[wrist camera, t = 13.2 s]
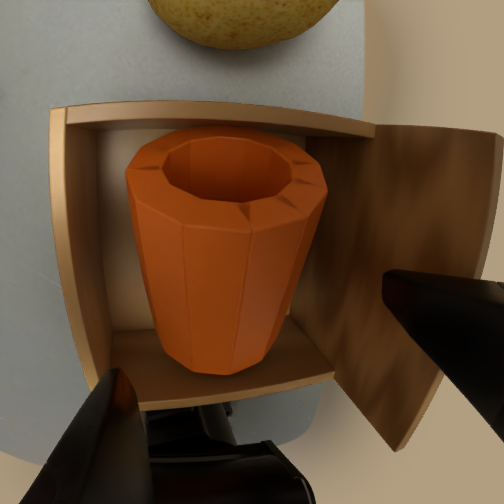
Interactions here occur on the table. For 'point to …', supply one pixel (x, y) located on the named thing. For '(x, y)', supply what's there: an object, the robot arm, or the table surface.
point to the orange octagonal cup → (222, 239)
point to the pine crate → (316, 264)
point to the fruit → (240, 20)
